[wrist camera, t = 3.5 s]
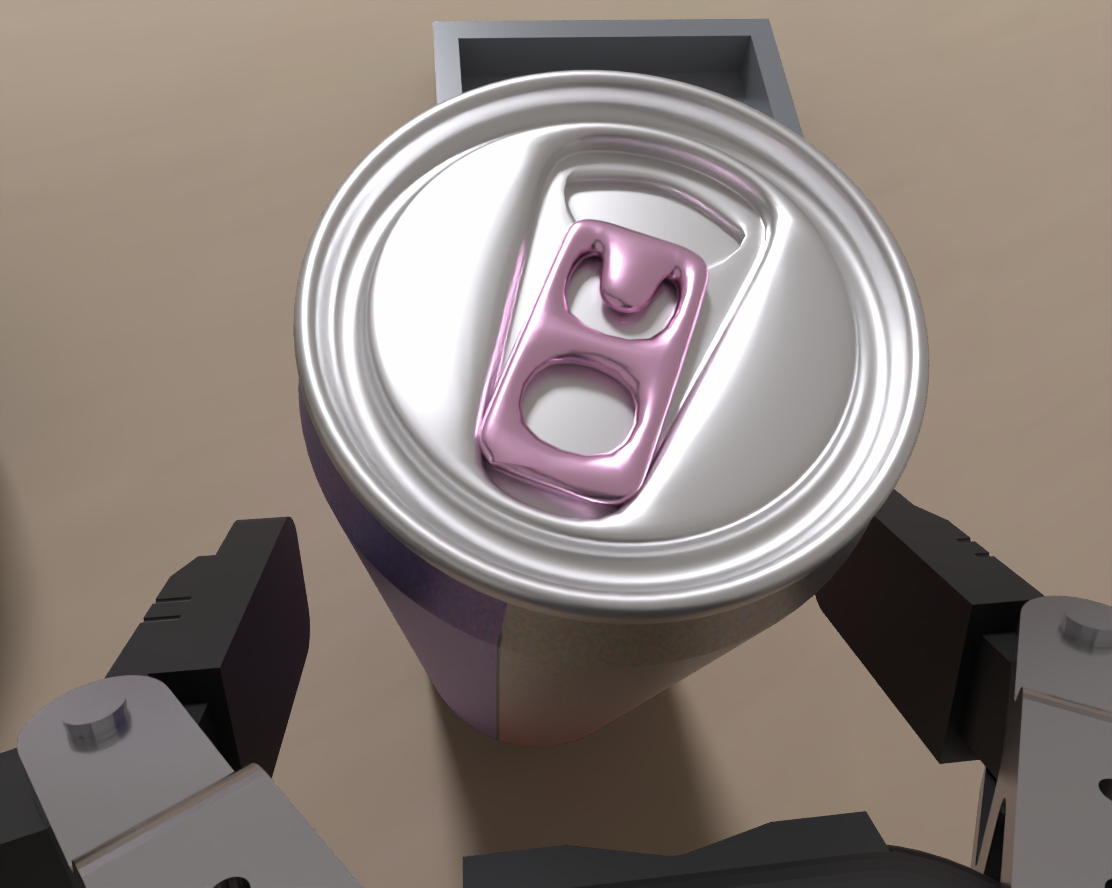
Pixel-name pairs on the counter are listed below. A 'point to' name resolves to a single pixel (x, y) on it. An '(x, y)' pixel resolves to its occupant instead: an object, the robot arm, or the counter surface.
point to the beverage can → (600, 386)
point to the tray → (620, 55)
